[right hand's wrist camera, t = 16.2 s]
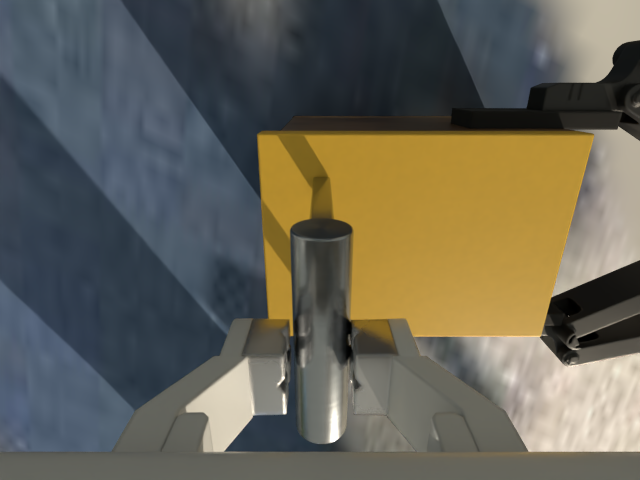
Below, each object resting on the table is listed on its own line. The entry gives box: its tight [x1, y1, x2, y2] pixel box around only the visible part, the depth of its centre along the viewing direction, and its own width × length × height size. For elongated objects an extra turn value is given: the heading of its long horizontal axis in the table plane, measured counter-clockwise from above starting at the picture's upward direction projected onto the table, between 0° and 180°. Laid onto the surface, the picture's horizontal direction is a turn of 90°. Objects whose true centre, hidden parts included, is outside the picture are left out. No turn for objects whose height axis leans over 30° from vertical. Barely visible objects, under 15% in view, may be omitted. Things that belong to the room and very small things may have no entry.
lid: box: [257, 131, 594, 444], centre depth 14 cm, size 13×10×8 cm
